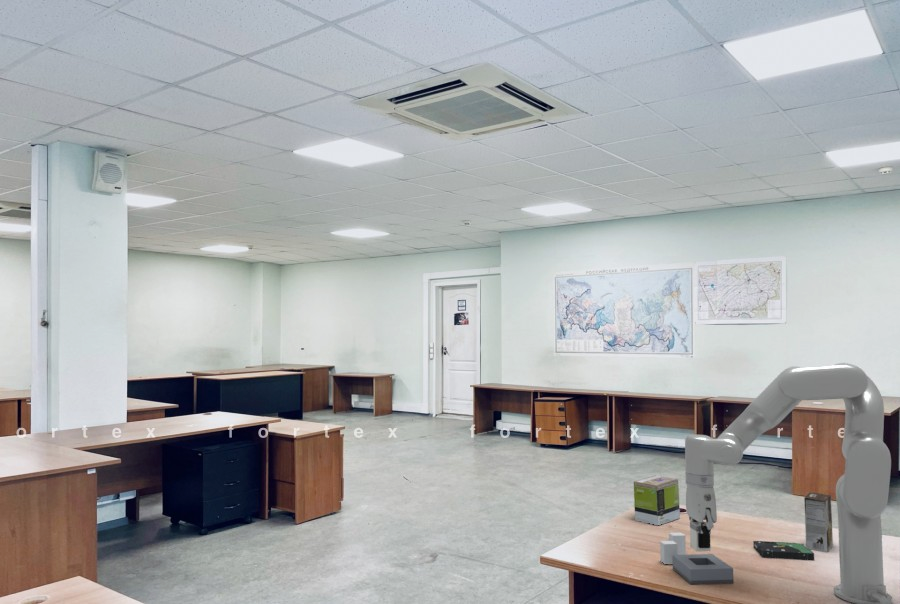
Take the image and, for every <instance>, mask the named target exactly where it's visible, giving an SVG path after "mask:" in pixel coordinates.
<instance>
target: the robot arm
mask: <svg viewBox="0 0 900 604" xmlns="http://www.w3.org/2000/svg"><path fill="white" fill-rule="evenodd" d="M839 399H840V400H841V399H842V400H843V402H844V406H845V407H844V408H845V417H844V420H845V421H844V430H843V439H842V443H841V444H842V445H841V453H842V455H843V458H844V459H845V462H844V463H845V465H844V474H842V475H841V476H840V477H839V478H838V479H837V482H836V485H835V498H836V510H837V521H838V522H837V525H838V553H839V579H840V580H839V581H840V583H839V584H837V585H835V586H834V587H833V593H834V594H835V596H837V597H838V598H839V599H842V600H844V601H846V602H849V603H853V604H892V603H893V596H892V595H890V594H889V593H888V592H887V585H885V582H884V560H883V555H884V554H883V533H882V532H883V529H882V517H881V514H883V513H884V511H885V510H886V508H887V506H888V500H889V492H890V482H891V469H892V457H891V452H890V449H889V448H888V446H887V444H886V443H885V442H884V430H885V429H884V423H885V422H884V421H885V405H884V400H883V397H882V394H881V391H880V390H879V388H878V386H877V385H876V384H875V382H874V381H873V380H872V379H871V378H870V377H869V376H868V375H867V374H866V372H865V371H864V370H863V369H862V368H860V367H859V366H858V365H856V364H852V363H848V362H847V363H846V362H839V363H836V364H833V365H827V366H813V367H802V366H801V367H800V366H790V367H789V366H788V367H787V368H784V370H783V371H782V372H780V373H779V374H778V375H777V376H776V378H774V379H773V380H772V382H770V383H769V384H768V385H767V386H766V387H765V388H764V390H763V391H762V392H761V393H759V395H758V396H756V397H755V398H754V400H752V401H751V402H750V404H749V405H748V406H747V407H746V408H745V409H744V410H743V412H741V414H740V415H738V416H737V417H736V418H735V420H733V421H732V422H731V423H730V424H729V425H728V427H727V428H725V430H723V431H722V433H720V434H719V436H718V437H717V438H712V437H711V436H709V435H706V434H689V435H686V437H685V440H684V451H685V452H684V456H685V457H684V458H685V460H684V462H685V465H684V467H685V474H684V475H685V484H686V491H685V492H686V493H685V510H686V514H687V516H688V517H689V523H690V522H699V532H700V533H698V547H699V548H711V533H712V529H713V528H714V527H715V526H714V524H715V523H717V521H718V516H717V515H718V514H717V502H716V501H717V499H716V494H715V487H714V486H715V478H714V476H715V473H714V471H715V470H714V468H715V467H714V463H715V464H719V465H722V466H723V465H724V466H734V465H737V464H738V463H740V462H741V461H742V459H743V457H744V452H745V450H746V449H748V447H750V445H752V443H754V441H756V440H757V439H758V438H759V437H760V436H762V434H764V433H766V432H767V431H770V430H772V429H773V428H775V427H776V426H778V425H779V424H780V423H781V422H782V421H783V420H784V419H785V418H786V417H787V416H788V415H789V414H790V413H791V412H792V411H793V410H794V409H795V408H796V407H797V406H798V405H799V404H800V403H801V402H803V401H821V400H822V401H823V400H839ZM702 524H706V526H704V527H703V525H702Z"/></svg>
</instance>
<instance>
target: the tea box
mask: <svg viewBox="0 0 900 604" xmlns="http://www.w3.org/2000/svg"><path fill="white" fill-rule="evenodd" d="M633 495H634V496H633V499H634V501H633V503H634V520H635V521H636V522H639V521H641V522H640V523H643V522H646V523H645V524H647V523H650V524H649V525H651V524H654V525H653V526H656V525H659V526H661V524H662V525H664V524H667V523H671V522H672V521H676V520H679V519H680V518H681V512H680V511H681V508H680V488H679V479H678V478H672V477H666V476H660V475H652V476H648V477H646V478H642V479H638V480H634V481H633Z"/></svg>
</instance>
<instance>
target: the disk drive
mask: <svg viewBox="0 0 900 604" xmlns="http://www.w3.org/2000/svg"><path fill="white" fill-rule="evenodd" d="M753 549H754V550H755V551H756V552H757V553H758V554H759V556H760V557H761V558H762V559H781V560H793V561H795V560H798V561H799V560H800V561H815V553H814V552H813V551H812V549H809V548H807V547H806V545H805V543H799V542H784V541H781V542H780V541H765V540H753Z"/></svg>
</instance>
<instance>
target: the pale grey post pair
mask: <svg viewBox="0 0 900 604" xmlns="http://www.w3.org/2000/svg"><path fill="white" fill-rule="evenodd" d="M659 542H660V543H659V548H660V550H659V554H660V555H659V556H660V562H661V563H662V562H663V563H664V564H673V560H672V555H687V551H686V534H684V533H683V532H668V540H660V541H659ZM663 563H662V564H663ZM664 564H663V565H664Z"/></svg>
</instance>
